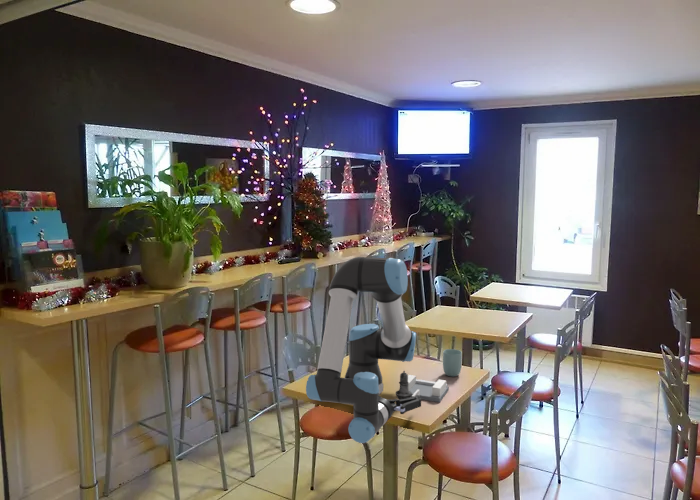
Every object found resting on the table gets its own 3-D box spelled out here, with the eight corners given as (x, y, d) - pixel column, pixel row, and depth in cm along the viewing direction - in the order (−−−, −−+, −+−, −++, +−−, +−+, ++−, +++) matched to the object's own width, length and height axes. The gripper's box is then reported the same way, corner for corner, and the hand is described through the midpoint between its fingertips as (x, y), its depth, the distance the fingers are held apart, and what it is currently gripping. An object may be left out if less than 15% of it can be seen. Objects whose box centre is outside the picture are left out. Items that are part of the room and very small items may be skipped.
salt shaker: (414, 402, 192) (415, 370, 190) (405, 407, 187) (405, 374, 186) (401, 397, 196) (402, 366, 194) (392, 402, 191) (392, 370, 190)
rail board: (398, 395, 198) (398, 383, 198) (409, 383, 210) (409, 372, 209) (439, 402, 192) (440, 390, 191) (448, 390, 203) (448, 379, 203)
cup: (461, 378, 216) (462, 355, 215) (442, 377, 217) (442, 353, 216) (461, 372, 223) (461, 349, 222) (442, 371, 225) (443, 348, 224)
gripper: (342, 416, 173) (367, 394, 192) (415, 431, 163) (434, 406, 182) (342, 394, 172) (367, 374, 191) (415, 408, 162) (434, 385, 181)
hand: (400, 390), depth 187 cm, fingers open, 13 cm apart
